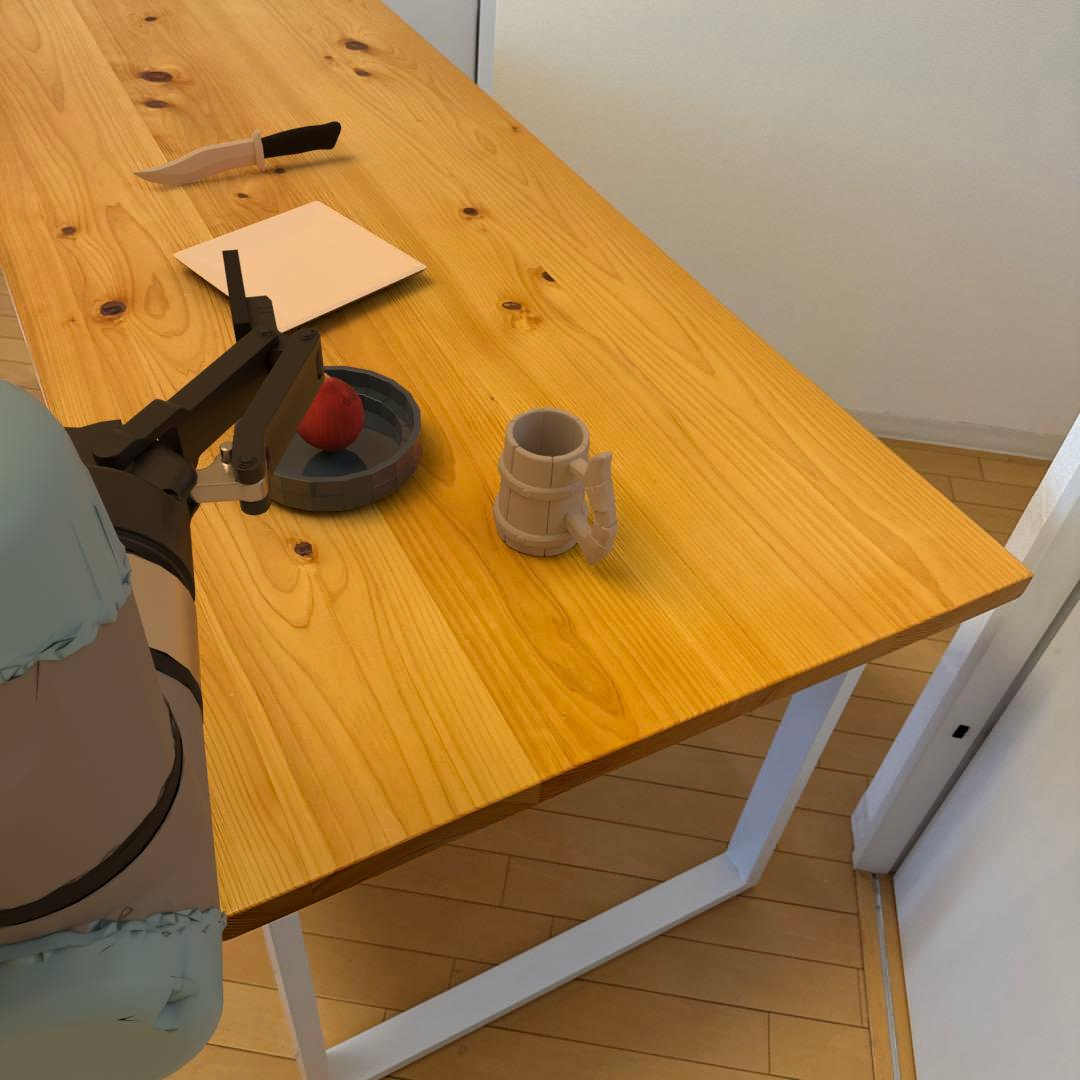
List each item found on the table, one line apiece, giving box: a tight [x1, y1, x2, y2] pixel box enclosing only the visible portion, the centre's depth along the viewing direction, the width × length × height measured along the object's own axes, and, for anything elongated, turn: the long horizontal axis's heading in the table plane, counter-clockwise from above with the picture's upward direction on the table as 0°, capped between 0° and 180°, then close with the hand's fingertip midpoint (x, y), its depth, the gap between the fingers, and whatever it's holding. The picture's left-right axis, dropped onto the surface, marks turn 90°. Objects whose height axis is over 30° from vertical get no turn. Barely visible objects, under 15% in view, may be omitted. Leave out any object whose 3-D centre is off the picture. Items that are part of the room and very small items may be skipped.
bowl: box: [233, 365, 423, 512], centre depth 85 cm, size 15×15×4 cm
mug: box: [492, 406, 619, 566], centre depth 77 cm, size 8×12×12 cm, turn 40°
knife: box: [132, 120, 342, 186], centre depth 119 cm, size 25×2×5 cm, turn 118°
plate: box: [172, 200, 427, 335], centre depth 105 cm, size 19×19×2 cm
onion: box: [296, 373, 365, 452], centre depth 83 cm, size 6×6×8 cm
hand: (89, 286), depth 49 cm, fingers open, 13 cm apart
